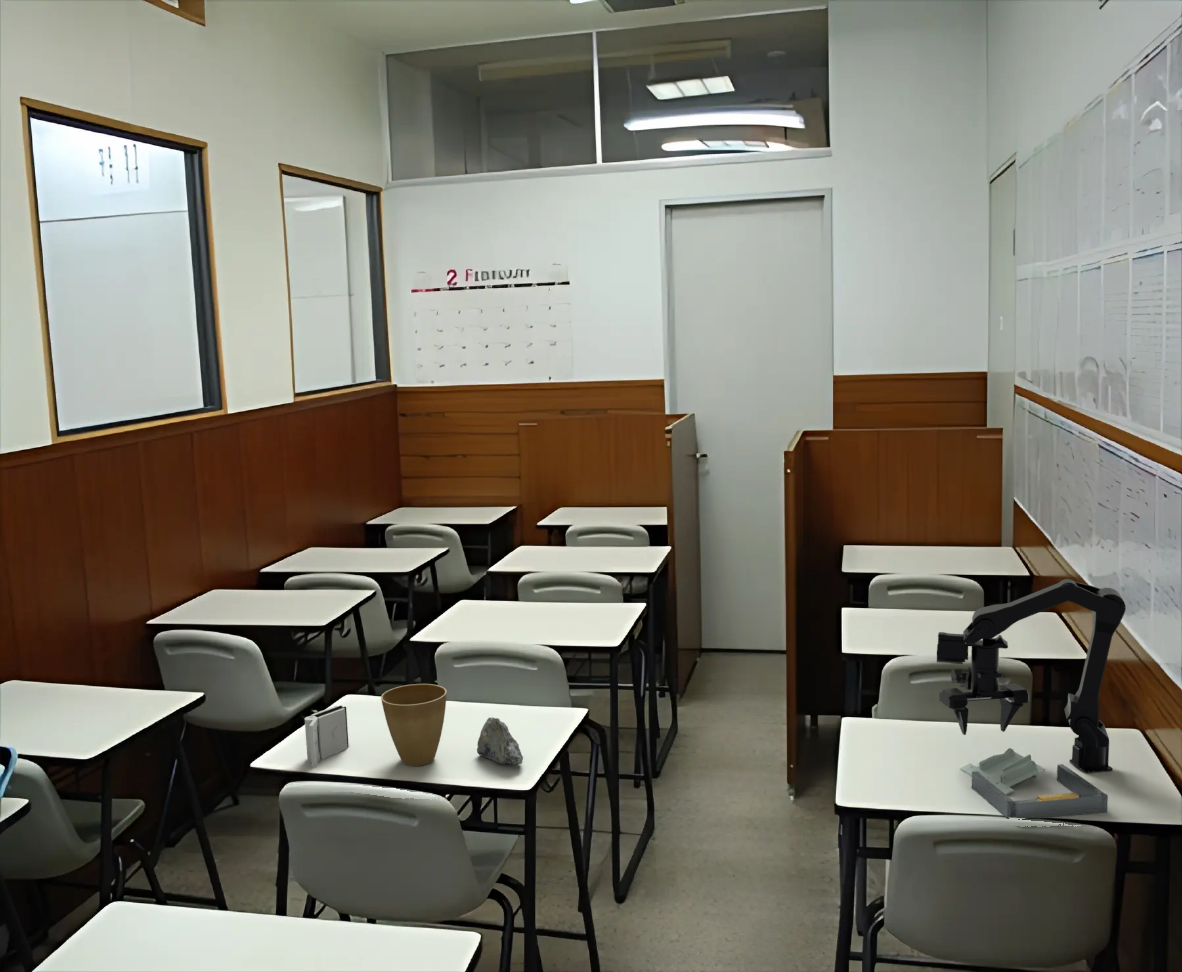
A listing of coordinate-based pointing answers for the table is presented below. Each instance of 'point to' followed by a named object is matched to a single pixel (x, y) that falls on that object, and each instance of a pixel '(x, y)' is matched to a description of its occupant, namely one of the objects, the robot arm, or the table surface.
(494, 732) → the mineral rock
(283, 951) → the table surface
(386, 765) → the table surface
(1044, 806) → the rail dock
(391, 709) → the plant pot
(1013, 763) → the metal bracket
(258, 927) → the table surface
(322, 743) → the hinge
